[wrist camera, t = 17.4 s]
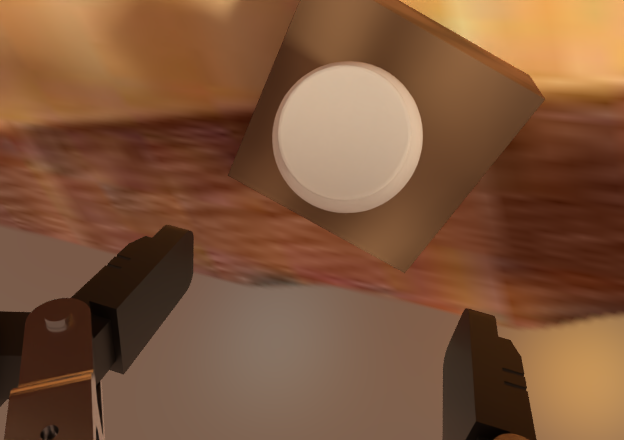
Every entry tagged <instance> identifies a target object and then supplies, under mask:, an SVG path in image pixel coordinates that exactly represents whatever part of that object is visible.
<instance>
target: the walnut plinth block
mask: <svg viewBox="0 0 624 440" xmlns="http://www.w3.org/2000/svg"><path fill="white" fill-rule="evenodd" d="M344 61H356V62H363V63H368V64H371V65H374V66H377V67H379V68H381V69H383V70H385V71H387V72H388V73H390V74H391V75H393V76H394V77H395V78H396V79H398V80H399V81H400V82H401V83H402V84H403V85H404V86H405V88H406V89H407V90H408V91H409V93H410V94H411V96H412V97H413V99H414V101H415V103H416V105H417V108H418V111H419V113H420V117H421V122H422V129H423V144H422V150H421V155H420V158H419V161H418V164H417V167H416V169H415V171H414V173H413V175H412V177H411V178H410V180H409V181H408V182H407V184H406V185H405V186H404V187H403V188H402V190H401V191H400V192H399V193H397V194H396V195H395V196H394V197H393V198H391V199H390V200H389V201H387V202H385V203H384V204H382V205H380V206H378V207H375V208H373V209H370V210H367V211H362V212H356V213H337V212H331V211H327V210H323V209H320V208H318V207H315V206H313V205H311V204H310V203H308V202H306V201H305V200H303V199H302V198H301V197H299V196H298V195H297V194H296V193H295V192H294V191H293V190H292V189H291V188H290V187H289V185H288V184H287V183H286V181H285V180H284V178H283V177H282V175H281V173H280V171H279V169H278V166H277V164H276V161H275V157H274V152H273V144H272V133H273V125H274V120H275V116H276V113H277V110H278V108H279V106H280V104H281V102H282V100H283V98H284V96H285V95H286V94H287V92H288V91H289V90H290V88H291V87H292V86H293V85H294V84H295V83H296V82H297V81H298V80H299V79H301V78H302V77H303V76H304V75H306V74H307V73H309V72H311V71H312V70H314V69H316V68H318V67H321V66H324V65H327V64H330V63H335V62H344ZM544 100H545V98H544V97H543V95H542V94H541V92H540V91H539V89H538V88H537V86H536V85H535V83H534V81H533V80H532V78H531V77H530V76H529V75H528V74H526V73H524V72H522V71H521V70H519V69H517V68H515V67H514V66H512V65H510V64H508V63H507V62H505V61H503V60H501V59H500V58H498V57H496V56H494V55H493V54H491V53H489V52H488V51H486V50H484V49H482V48H481V47H479V46H477V45H475V44H474V43H472V42H470V41H468V40H467V39H465V38H463V37H461V36H460V35H458V34H456V33H455V32H453V31H451V30H449V29H448V28H446V27H444V26H442V25H441V24H439V23H437V22H435V21H434V20H432V19H430V18H428V17H427V16H425V15H423V14H422V13H420V12H418V11H416V10H415V9H413V8H411V7H409V6H408V5H406V4H404V3H402V2H401V1H399V0H300V2H299V4H298V6H297V9H296V11H295V14H294V16H293V19H292V21H291V23H290V26H289V28H288V31H287V33H286V36H285V38H284V40H283V43H282V45H281V48H280V50H279V53H278V55H277V57H276V60H275V62H274V65H273V67H272V70H271V72H270V74H269V77H268V79H267V82H266V84H265V87H264V89H263V91H262V94H261V96H260V99H259V101H258V104H257V106H256V108H255V111H254V113H253V116H252V118H251V121H250V123H249V125H248V128H247V130H246V133H245V135H244V138H243V140H242V142H241V145H240V147H239V150H238V152H237V155H236V157H235V159H234V162H233V164H232V167H231V169H230V172H229V174H228V176H230V177H232V178H233V179H235V180H237V181H239V182H241V183H242V184H244V185H246V186H248V187H250V188H252V189H253V190H255V191H257V192H259V193H261V194H262V195H264V196H266V197H268V198H270V199H271V200H273V201H275V202H277V203H279V204H280V205H282V206H284V207H286V208H288V209H290V210H291V211H293V212H295V213H297V214H299V215H300V216H302V217H304V218H306V219H308V220H309V221H311V222H313V223H315V224H317V225H318V226H320V227H322V228H324V229H326V230H328V231H329V232H331V233H333V234H335V235H337V236H338V237H340V238H342V239H344V240H346V241H347V242H349V243H351V244H353V245H355V246H356V247H358V248H360V249H362V250H364V251H366V252H367V253H369V254H371V255H373V256H375V257H376V258H378V259H380V260H382V261H384V262H385V263H387V264H389V265H391V266H393V267H394V268H396V269H398V270H400V271H402V272H404V273H405V272H406V271H407V270H408V269H409V267H410V266H411V265H412V264H413V262H414V261H415V260H416V259H417V257H418V256H419V255H420V254H421V252H422V251H423V250H424V249H425V247H426V246H427V245H428V244H429V243H430V241H431V240H432V239H433V238H434V236H435V235H436V234H437V233H438V231H439V230H440V229H441V228H442V226H443V225H444V224H445V223H446V221H447V220H448V219H449V218H450V217H451V215H452V214H453V213H454V212H455V210H456V209H457V208H458V207H459V205H460V204H461V203H462V202H463V200H464V199H465V198H466V197H467V195H468V194H469V193H470V192H471V191H472V189H473V188H474V187H475V186H476V184H477V183H478V182H479V181H480V179H481V178H482V177H483V176H484V174H485V173H486V172H487V171H488V169H489V168H490V167H491V166H492V164H493V163H494V162H495V161H496V160H497V158H498V157H499V156H500V155H501V153H502V152H503V151H504V150H505V148H506V147H507V146H508V145H509V143H510V142H511V141H512V140H513V138H514V137H515V136H516V135H517V134H518V132H519V131H520V130H521V129H522V127H523V126H524V125H525V124H526V122H527V121H528V120H529V119H530V117H531V116H532V115H533V114H534V112H535V111H536V110H537V109H538V107H539V106H540V105H541V104H542V103H543V101H544Z"/></svg>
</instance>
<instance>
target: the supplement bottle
mask: <svg viewBox="0 0 624 440" xmlns="http://www.w3.org/2000/svg"><path fill="white" fill-rule="evenodd" d="M272 144H273V152H274V157H275V161H276V164H277V166H278V169H279V171H280V173H281V175H282V177H283V178H284V180H285V181H286V183H287V184H288V185H289V187H290V188H291V189H292V190H293V191H294V192H295V193H296V194H297V195H298V196H299V197H301V198H302V199H303V200H305V201H306V202H308V203H310V204H311V205H313V206H315V207H318V208H320V209H323V210H327V211H331V212H337V213H356V212H362V211H367V210H370V209H373V208H375V207H378V206H380V205H382V204H384V203H385V202H387V201H389V200H390V199H391V198H393V197H394V196H395V195H396V194H397V193H399V192H400V191H401V190H402V188H403V187H404V186H405V185H406V184H407V182H408V181H409V180H410V178H411V177H412V175H413V173H414V171H415V169H416V167H417V164H418V161H419V158H420V155H421V150H422V144H423V129H422V122H421V117H420V113H419V111H418V108H417V105H416V103H415V101H414V99H413V97H412V96H411V94H410V93H409V91H408V90H407V89H406V88H405V86H404V85H403V84H402V83H401V82H400V81H399V80H398V79H396V78H395V77H394V76H393V75H391V74H390V73H388V72H387V71H385V70H383V69H381V68H379V67H377V66H374V65H371V64H368V63H363V62H356V61H344V62H335V63H330V64H327V65H324V66H321V67H318V68H316V69H314V70H312V71H311V72H309V73H307V74H306V75H304V76H303V77H302V78H301V79H299V80H298V81H297V82H296V83H295V84H294V85H293V86H292V87H291V88H290V90H289V91H288V92H287V94H286V95H285V96H284V98H283V100H282V102H281V104H280V106H279V108H278V110H277V113H276V116H275V120H274V125H273V133H272Z"/></svg>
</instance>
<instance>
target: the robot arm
mask: <svg viewBox="0 0 624 440" xmlns="http://www.w3.org/2000/svg"><path fill="white" fill-rule="evenodd" d="M193 240H194V238H193V233H192V231H189V230H185V229H182V228H178V227H175V226H171V225H165V226H164V227H163V228H162V229H161V230H160V231H159V232H158V233H157V234H156V235H155V236H154V237H153V238H150V237H147V236H145V237H142V238H140V239H138V240H136V241H134V242H132V243H129V244H128V245H127V246H126V247H125V248H124V249H123V250H122V251H121V252H119V253H118V254H117V257H114V258H113V259H112V260H111V261H110V262H109V263H108V265H107V266H105V267H103V268H102V269H101V270H100V271H99V272H98V273H97V274H96V275H95V276H94V277H93V278H92V279H91V280H90V281H88V282H87V283H86V284H85V285H84V286H83V287H82V288H81V289H80V290H79V291H78V292H77V293H76V294H75V295H74V296H72V297H71V298H59V299H54V300H51V301H48V302H45V303H43V304H41V305H39V306H38V307H36V308H35V309H34V310H33V311H32V312H1V311H0V406H1V405H2V404H3V403H4V402H5V401H6V400H7V399H9V402H8V410H7V419H6V426H5V434H4V440H105V432H104V415H103V400H102V399H103V398H102V383H101V379H102V378H103V377H104V375H105V374H106V373H107V372H108V371H109V370H112V371H115V372H118V373H121V374H124V373H125V372H126V371H127V369H128V368H129V367H130V365H131V364H132V363H133V361H134V360H135V359H136V358H137V356H138V355H139V354H140V352H141V351H142V350H143V348H144V347H145V346H146V344H147V343H148V341H149V340H150V339H151V338H152V336H153V335H154V334H155V332H156V331H157V330H158V328H159V327H160V326H161V324H162V323H163V321H164V320H165V319H166V318H167V316H168V315H169V314H170V312H171V311H172V310H173V308H174V307H175V306H176V304H177V303H178V302H179V300H180V299H181V298H182V296H183V295H184V294H185V292H186V291H187V289H188V288H189V285H190V283H191V280H192V276H193ZM526 388H527V386H526V381H525V377H524V370H523V365H522V359H521V356H520V354H519V353H518V352H517V350H516V348H515V347H514V345H513V344H512V342H511V340H508V339H505V338H501V337H498V332H497V325H496V319H495V317H494V316H493V315H489V314H486V313H482V312H478V311H475V310H471V309H468V308H466V309H465V310H464V312H463V313H462V316H461V318H460V320H459V322H458V325H457V327H456V329H455V331H454V334H453V336H452V338H451V341H450V343H449V345H448V347H447V350H446V354H445V358H444V364H443V440H536V435H535V430H534V424H533V419H532V413H531V408H530V403H529V397H528V392H527V391H526Z"/></svg>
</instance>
